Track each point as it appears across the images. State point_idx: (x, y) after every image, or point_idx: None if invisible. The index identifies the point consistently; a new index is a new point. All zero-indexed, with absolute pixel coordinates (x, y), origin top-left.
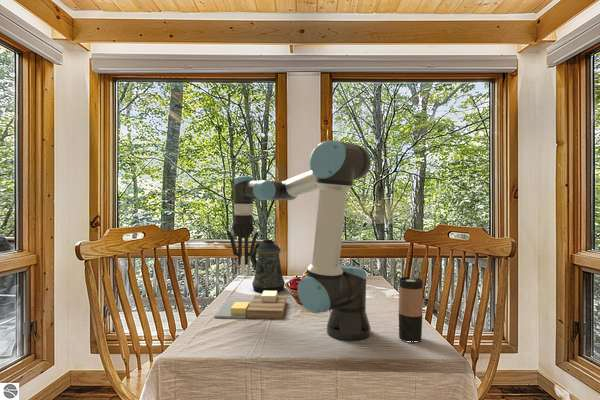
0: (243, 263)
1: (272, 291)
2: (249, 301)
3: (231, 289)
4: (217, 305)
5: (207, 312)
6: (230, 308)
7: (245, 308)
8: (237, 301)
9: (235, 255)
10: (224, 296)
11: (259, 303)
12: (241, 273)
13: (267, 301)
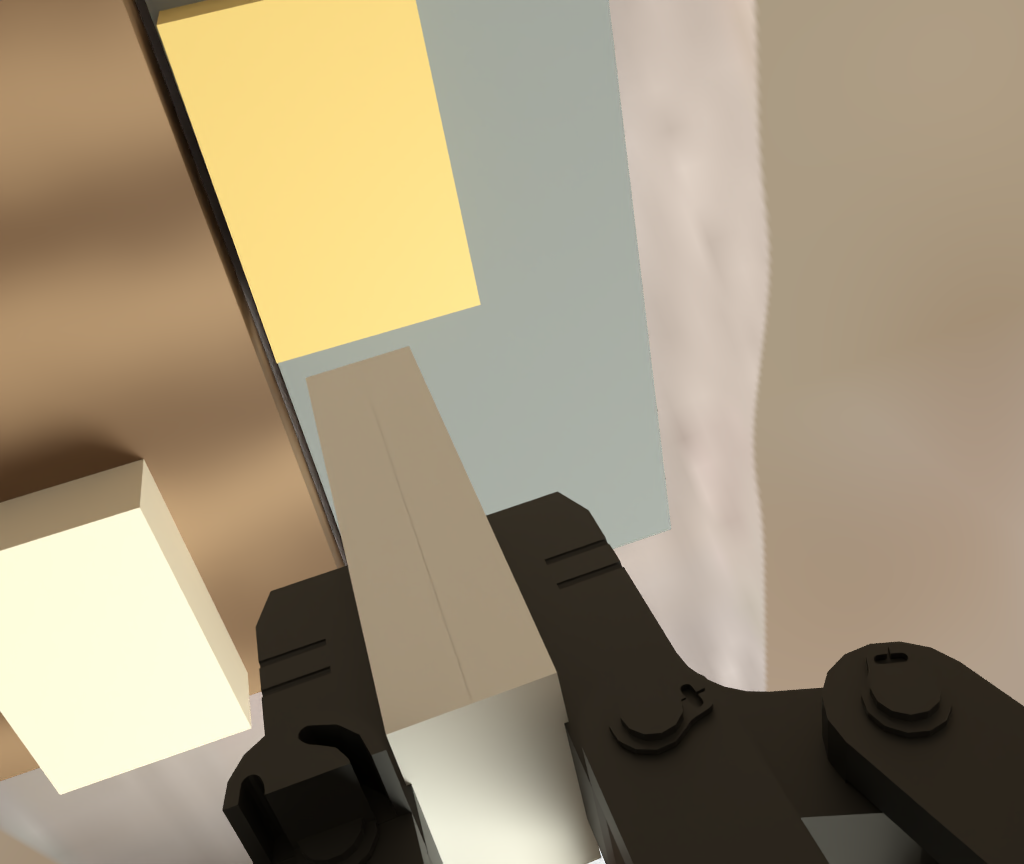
0: (381, 543)
1: (105, 743)
2: None
3: None
4: (722, 343)
5: (749, 45)
6: (508, 225)
7: (161, 22)
8: None
9: (844, 685)
10: (749, 628)
11: (118, 380)
12: (389, 357)
13: (48, 492)
